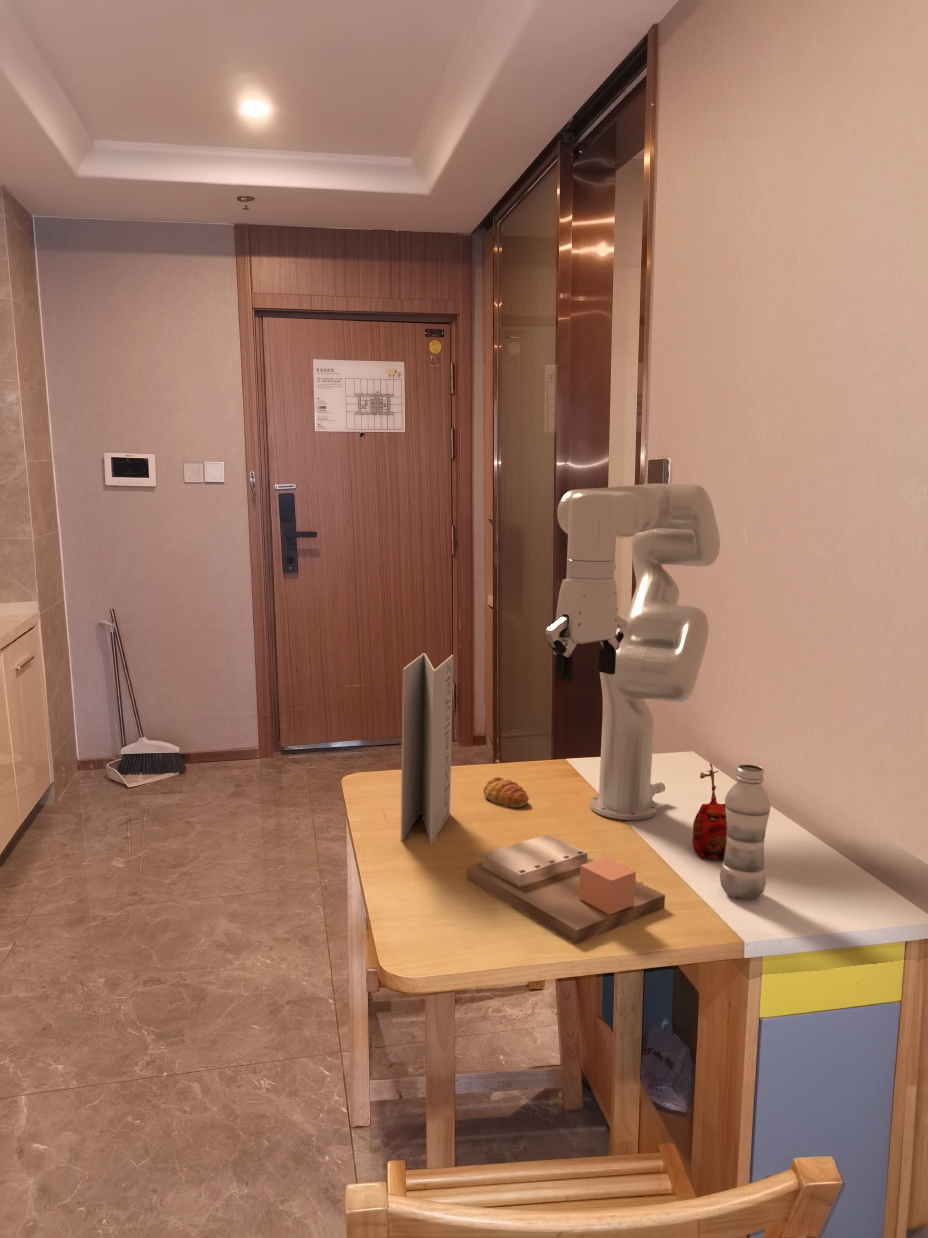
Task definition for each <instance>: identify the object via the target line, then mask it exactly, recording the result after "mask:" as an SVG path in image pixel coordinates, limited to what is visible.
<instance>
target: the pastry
mask: <svg viewBox="0 0 928 1238" xmlns="http://www.w3.org/2000/svg"><path fill="white" fill-rule="evenodd" d="M482 791H483V792H482V793H483V795H484V797H485V798H486V799H487V800H490V802H491V803H494V802H495V803H494V804H497V805H499V804H500V805H499V806H503V805H504V806H503V807H506V806H508V808H516V809H517V808H520V807H522V806H526V805H527V804H528V801H529V800H530V799H529V798H530V797H529V796H528V794H527V792H526V790H524V789H523V787H522V786H520V785H519V784H518V783H517V782H515V781H512V779H504V778H503V777H499V776H495V777H492V778H491V779H490V780H488V781H487V782H486V783H485V786H484V788H483V790H482Z"/></svg>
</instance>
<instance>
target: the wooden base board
mask: <svg viewBox="0 0 928 1238" xmlns="http://www.w3.org/2000/svg"><path fill="white" fill-rule="evenodd" d="M592 861H595V860H594V859H591V858H589V857H588V852H587V851H584V850H583V849H582V848H581V849H580V848H579V847H577V846H574V845H573V844H571V843H567V842H566V841H563V839H560V838H558V837H555V836H553V835H551V834H549V833H547V834H543V835H540V836H538V837H537V836H536V837H534V838H530V839H528V840H524V841H520V842H517V843H514V844H510V845H506V846H502V847H501V848H497V849H494V850H490V851H487V852H484V853H481V862H480V863H476V864H473V865H470V866H467V871H466V872H467V875H466V879H467V880H468V881H469V882H472V883H473V884H474V885H476V886H478V887H480V888H481V889H483V890H485V891H486V892H488V893H489V894H492V895H493V896H495V897H496V898H498V899H499V900H501V901H503V902H505V903H506V904H508V905H510V906H512V908H513V907H514V908H515V909H517V910H518V911H520V912H521V913H524V914H525V915H526V916H528V917H530V918H531V919H534V921H536V922H538V923H541V925H543V926H546V927H547V928H548V927H549V929H550V930H552V931H554V932H555V933H557V934H558V935H560V936H562V937H564V938H565V939H567V940H568V941H571V942H572V943H574V944H575V945H576V944H580V943H582V942H584V941H587V940H590V939H592V938H594V937H597V936H598V935H601V934H604V933H607V932H608V931H611V930H614V929H616V928H618V927H621V926H624V925H625V924H629V923H631V922H632V921H636V920H638V919H639V918H640V919H641V918H643V917H645V916H647V915H650V914H653V913H655V912H657V911H660V910H663V909H664V908H665V906H666V905H665V904H666V894H664V893H661V892H660V891H658V890H656V889H654V888H651V887H649V886H648V885H645V884H643V883H641V882H639V881H637V880H635V895H634V905H633V906H630V907H628V908H625V909H623V910H620V911H618V912H615V913H613V914H610V915H609V914H607V913H605V912H603V911H602V910H600V909H598V908H596V907H594V906H592V905H590V904H588V903H587V902H585V901H583V900H581V899H579V882H580V865H583V864H586V863H589V862H592Z"/></svg>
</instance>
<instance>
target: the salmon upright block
mask: <svg viewBox="0 0 928 1238" xmlns="http://www.w3.org/2000/svg"><path fill="white" fill-rule="evenodd" d="M636 874H637V871H635V870H633V869H631V868H628V867H626V866H624V865H622V864H621V863H619V862H616V861H614V860H612V859H610V858H608V857H605V856H604V857H601V858H599V859H595V860H594V861H592V862H589V863H586V864H583V865H580V882H579V899H581V900H583V901H585V902H587V903H588V904H590V905H592V906H594V907H596V908H598V909H600V910H602V911H603V912H605V913H607V914H609V915H610V914H613V913H615V912H618V911H620V910H623V909H625V908H628V907H630V906H633V905H634V895H635V881H636Z"/></svg>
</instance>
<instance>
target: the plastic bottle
mask: <svg viewBox="0 0 928 1238" xmlns="http://www.w3.org/2000/svg"><path fill="white" fill-rule="evenodd" d="M736 772H737V773H736V775H735V779H736V780H737V782H735V784H734V785H732V787H731V788H730V789H729V790H728V792H726V796H725V798H724V804H725V809H726V821H727V842H726V848H725V855H724V860H722V861H723V862H722V863H721V868H720V872H719V877H720V878H719V880H720V886H721V888H722V889H723V891H724V893H726V894H727V895H729V896H731V897H733V898H737V899H741V900H756V899H758V898H760V897H761V896H762V895H763V894H764V892H765V889H766V885H767V876H766V870H765V868H766V867H765V852H764V851H765V848H764V847H765V839H766V831H767V826H768V821H769V817H770V812H771V809H772V808H771V807H772V806H771V805H772V804H771V799H770V797H769V795H768V793H767V791H766V790H765V788H764V787H763V785H762V783H764V780H765V779H764V772H765V771H764V768H763V767H761V766H759V765H755V764H745V763H744V764H739V765H738V766H737V771H736Z"/></svg>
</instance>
